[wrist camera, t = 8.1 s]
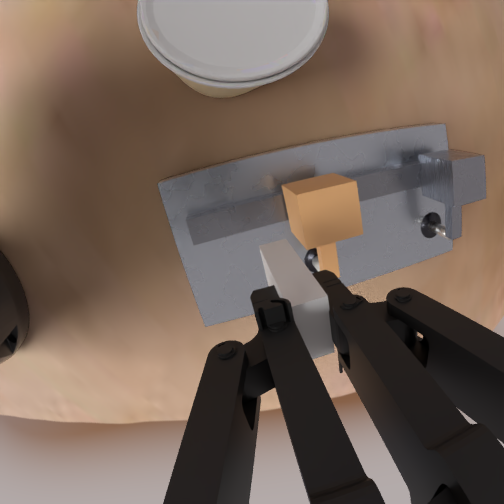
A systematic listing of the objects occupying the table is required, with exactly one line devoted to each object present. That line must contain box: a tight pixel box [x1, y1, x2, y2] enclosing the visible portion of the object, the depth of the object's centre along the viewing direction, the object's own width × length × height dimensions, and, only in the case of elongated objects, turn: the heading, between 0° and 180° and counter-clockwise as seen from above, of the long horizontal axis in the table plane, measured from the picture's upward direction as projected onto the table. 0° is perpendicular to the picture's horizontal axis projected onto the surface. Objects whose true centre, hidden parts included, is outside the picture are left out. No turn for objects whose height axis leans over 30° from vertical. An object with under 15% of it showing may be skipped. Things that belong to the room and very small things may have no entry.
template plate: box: [157, 123, 486, 327], centre depth 24 cm, size 26×13×8 cm, turn 104°
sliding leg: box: [282, 173, 363, 278], centre depth 23 cm, size 4×8×6 cm, turn 14°
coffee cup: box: [137, 0, 329, 98], centre depth 17 cm, size 9×9×12 cm
